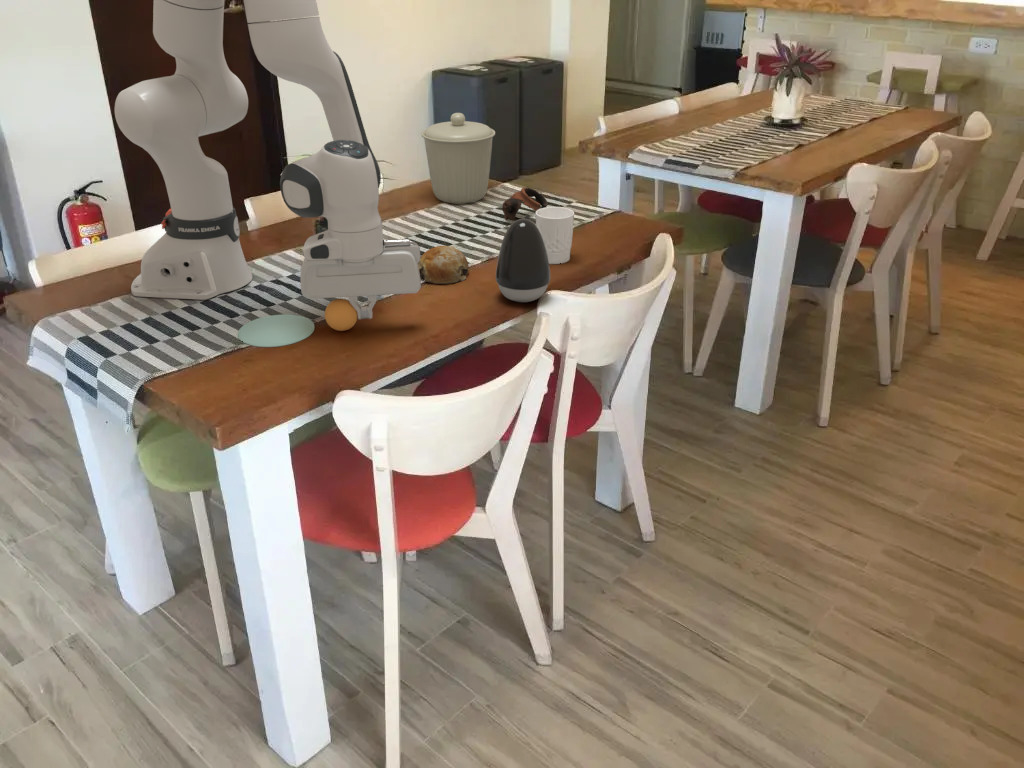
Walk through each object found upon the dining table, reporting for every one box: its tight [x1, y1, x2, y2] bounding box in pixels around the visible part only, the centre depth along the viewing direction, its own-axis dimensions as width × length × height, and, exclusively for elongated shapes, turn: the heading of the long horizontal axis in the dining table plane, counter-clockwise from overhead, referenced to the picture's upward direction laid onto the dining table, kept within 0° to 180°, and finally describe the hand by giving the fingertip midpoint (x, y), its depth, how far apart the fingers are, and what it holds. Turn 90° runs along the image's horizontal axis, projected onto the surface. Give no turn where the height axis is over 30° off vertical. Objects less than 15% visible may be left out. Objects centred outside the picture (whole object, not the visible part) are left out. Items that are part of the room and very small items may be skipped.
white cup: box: [535, 206, 575, 265], centre depth 182 cm, size 8×8×10 cm
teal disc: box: [237, 314, 315, 348], centre depth 153 cm, size 13×13×1 cm
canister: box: [420, 112, 496, 205], centre depth 217 cm, size 18×18×21 cm
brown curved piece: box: [501, 186, 549, 221], centre depth 206 cm, size 12×10×8 cm
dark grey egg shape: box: [495, 214, 551, 303], centre depth 162 cm, size 10×10×15 cm
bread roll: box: [418, 245, 469, 285], centre depth 175 cm, size 10×10×8 cm
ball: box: [324, 298, 358, 332], centre depth 152 cm, size 6×6×6 cm
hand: (365, 317), depth 153 cm, fingers closed
